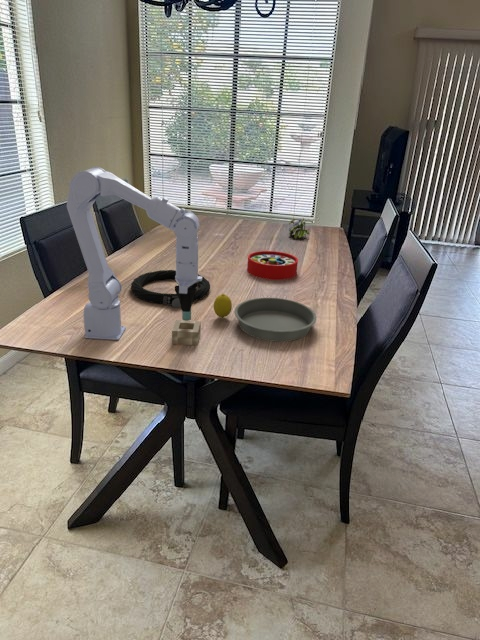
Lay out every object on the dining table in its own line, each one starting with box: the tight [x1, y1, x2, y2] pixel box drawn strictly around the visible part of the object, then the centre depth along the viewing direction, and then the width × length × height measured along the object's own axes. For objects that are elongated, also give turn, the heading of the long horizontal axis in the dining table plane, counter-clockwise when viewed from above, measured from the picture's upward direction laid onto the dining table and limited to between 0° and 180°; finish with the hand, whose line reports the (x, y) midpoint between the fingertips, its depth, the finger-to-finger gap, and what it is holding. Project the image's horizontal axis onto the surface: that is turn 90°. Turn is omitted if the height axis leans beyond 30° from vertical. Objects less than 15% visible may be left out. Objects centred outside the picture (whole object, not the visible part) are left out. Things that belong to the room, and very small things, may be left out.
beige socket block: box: [171, 319, 202, 346], centre depth 128 cm, size 7×7×4 cm
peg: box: [181, 287, 192, 321], centre depth 124 cm, size 2×2×9 cm
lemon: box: [213, 293, 233, 319], centre depth 141 cm, size 6×6×8 cm
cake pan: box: [234, 297, 317, 342], centre depth 139 cm, size 25×25×4 cm
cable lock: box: [130, 269, 211, 309], centre depth 161 cm, size 28×4×30 cm
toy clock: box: [246, 250, 299, 281], centre depth 186 cm, size 20×6×20 cm
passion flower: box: [288, 218, 310, 240], centre depth 239 cm, size 11×11×12 cm
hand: (186, 308), depth 125 cm, fingers closed on peg, 2 cm apart
